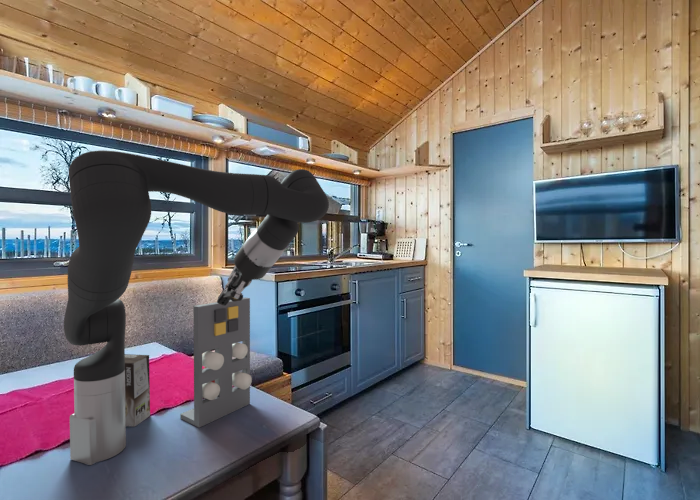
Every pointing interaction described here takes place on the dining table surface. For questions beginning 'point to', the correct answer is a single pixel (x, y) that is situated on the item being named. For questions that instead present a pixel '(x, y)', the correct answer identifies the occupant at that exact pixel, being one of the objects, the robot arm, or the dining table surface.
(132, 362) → the coffee box
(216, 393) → the button bottom left
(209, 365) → the button top left
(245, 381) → the button bottom right
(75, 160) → the robot arm
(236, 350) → the button top right
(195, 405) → the button panel
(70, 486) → the dining table surface
